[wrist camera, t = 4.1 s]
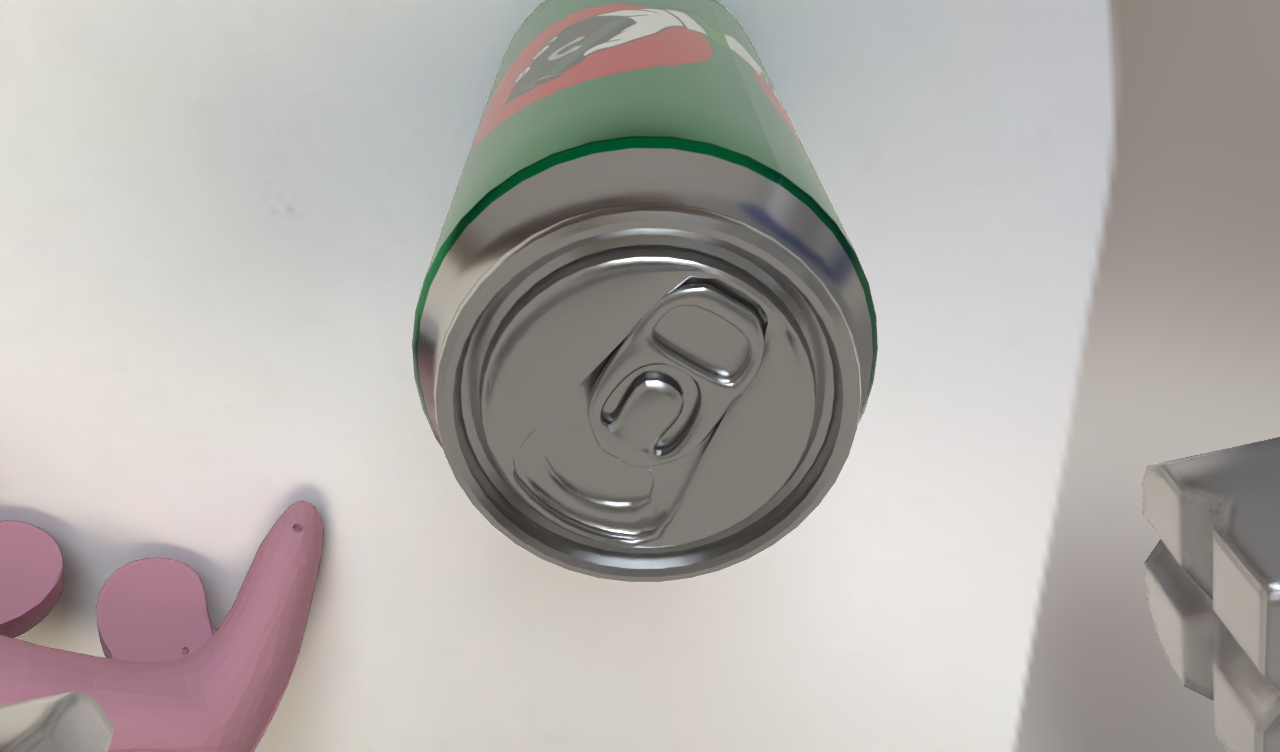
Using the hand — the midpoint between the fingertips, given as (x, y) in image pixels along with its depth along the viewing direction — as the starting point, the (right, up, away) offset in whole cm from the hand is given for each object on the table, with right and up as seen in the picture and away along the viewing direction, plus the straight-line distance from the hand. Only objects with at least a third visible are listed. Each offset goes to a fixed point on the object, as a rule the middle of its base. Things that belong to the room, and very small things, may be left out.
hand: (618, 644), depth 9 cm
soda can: (0, +7, +14) cm, 15 cm away
